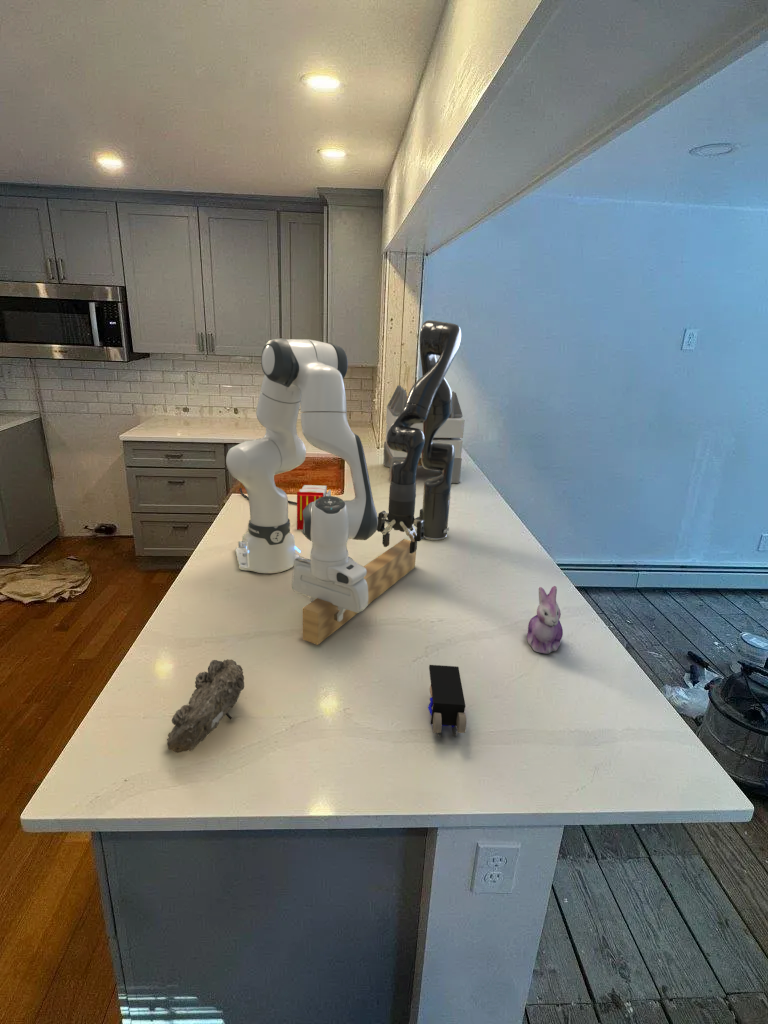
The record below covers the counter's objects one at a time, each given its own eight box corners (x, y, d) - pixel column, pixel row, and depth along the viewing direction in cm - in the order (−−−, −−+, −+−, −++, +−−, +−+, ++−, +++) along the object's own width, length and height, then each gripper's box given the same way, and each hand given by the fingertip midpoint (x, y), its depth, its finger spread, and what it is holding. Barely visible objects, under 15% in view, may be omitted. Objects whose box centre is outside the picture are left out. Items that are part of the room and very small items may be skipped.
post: (402, 563, 177) (403, 538, 174) (415, 567, 175) (416, 542, 172) (302, 639, 134) (302, 607, 132) (317, 645, 132) (317, 613, 130)
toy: (332, 480, 224) (326, 494, 194) (331, 513, 226) (326, 531, 197) (301, 479, 223) (291, 493, 194) (301, 513, 226) (291, 531, 197)
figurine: (544, 659, 130) (553, 602, 125) (515, 637, 139) (522, 582, 134) (574, 650, 135) (584, 594, 130) (544, 629, 143) (552, 575, 138)
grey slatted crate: (382, 463, 289) (386, 382, 275) (445, 464, 293) (451, 384, 279) (390, 482, 257) (394, 392, 243) (460, 483, 261) (468, 394, 247)
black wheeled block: (466, 750, 104) (456, 690, 118) (471, 720, 101) (459, 662, 115) (430, 749, 104) (423, 690, 118) (433, 719, 101) (426, 661, 114)
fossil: (192, 660, 117) (244, 628, 112) (224, 691, 120) (276, 661, 115) (142, 746, 98) (202, 712, 93) (182, 779, 101) (242, 748, 96)
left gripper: (285, 559, 136) (286, 610, 141) (358, 581, 127) (356, 634, 131) (302, 550, 141) (302, 599, 146) (372, 571, 132) (370, 622, 137)
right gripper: (374, 495, 161) (371, 548, 166) (419, 504, 155) (415, 559, 160) (386, 489, 167) (384, 540, 172) (430, 498, 161) (426, 550, 166)
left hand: (328, 616), depth 139 cm, fingers closed on post, 4 cm apart
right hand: (399, 549), depth 166 cm, fingers open, 8 cm apart
